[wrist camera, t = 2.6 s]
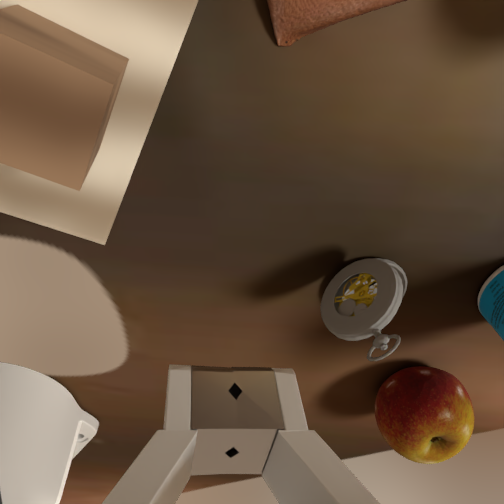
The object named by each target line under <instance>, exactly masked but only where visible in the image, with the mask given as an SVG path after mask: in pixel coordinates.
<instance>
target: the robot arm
mask: <svg viewBox="0 0 504 504" xmlns="http://www.w3.org/2000/svg"><path fill="white" fill-rule="evenodd" d="M98 426H99V422H98V421H97V419H95V418H94V417H93V416H91V415H90V414H88V413H87V412H85V411H83V410H82V409H81V408H80V407H79V406H78V404H77V403H76V401H75V399H74V398H73V396H72V395H71V394H70V392H69V391H68V390H67V389H66V388H65V387H63V386H62V385H61V384H60V383H58V382H57V381H55V380H54V379H52V378H50V377H48V376H46V375H44V374H42V373H40V372H37V371H35V370H32V369H29V368H26V367H22V366H19V365H14V364H9V363H3V362H0V504H59V502H60V500H61V496H62V493H63V489H64V486H65V482H66V478H67V475H68V471H69V468H70V464H71V460H72V459H73V458H74V457H75V456H76V455H77V454H78V453H79V452H80V450H81V449H82V448H83V447H84V446H85V445H86V444H87V443H88V442H89V441H90V440H91V439H92V438H93V437H94V436H95V434H96V433H97V429H98ZM207 474H262V477H263V479H264V480H265V482H266V483H267V485H268V487H269V488H270V490H271V491H272V493H273V494H274V496H275V497H276V499H277V501H278V502H279V504H380V503H379V502H378V501H377V500H376V499H375V498H374V497H373V495H372V494H371V493H370V492H369V491H368V490H367V489H366V487H365V486H364V485H363V484H362V483H361V482H360V481H359V480H358V479H357V477H355V475H354V474H353V473H352V472H351V471H350V470H349V469H348V467H347V466H346V465H345V464H344V463H343V462H342V461H341V460H340V459H339V457H338V456H337V455H336V454H335V453H334V452H333V451H332V450H331V448H330V447H329V446H328V445H327V444H326V443H325V442H324V441H323V440H322V438H321V437H320V436H319V435H318V434H317V433H316V432H315V431H314V430H308V427H307V423H306V418H305V414H304V410H303V405H302V401H301V397H300V393H299V388H298V384H297V380H296V376H295V372H294V371H293V369H287V368H265V367H232V368H227V367H209V366H191V365H169V371H168V382H167V393H166V404H165V415H164V428H163V430H157V431H156V433H155V434H154V435H153V437H152V438H151V439H150V441H149V442H148V443H147V445H146V446H145V447H144V449H143V450H142V451H141V453H140V454H139V455H138V457H137V458H136V459H135V461H134V462H133V463H132V465H131V466H130V467H129V468H128V470H127V471H126V472H125V474H124V475H123V476H122V478H121V479H120V480H119V482H118V483H117V484H116V486H115V487H114V488H113V490H112V491H111V492H110V494H109V495H108V496H107V498H106V499H105V500H104V502H103V503H102V504H175V503H176V501H177V500H178V498H179V496H180V494H181V493H182V491H183V489H184V487H185V485H186V484H187V482H188V480H189V478H190V475H207Z"/></svg>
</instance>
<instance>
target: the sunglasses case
mask: <svg viewBox="0 0 504 504" xmlns="http://www.w3.org/2000/svg"><path fill="white" fill-rule="evenodd" d="M402 1H407V0H267V3H268V7H269V10H270V16H271V20H272V26H273V32H274V36H275V39H276V42H277V45H278V46H283V47H284V46H290V45H292V44H293V43H294V42H295V41H298V40H299V39H300V38H301V37H303V36H306V35H308V34H311V33H314V32H316V31H318V30H321V29H323V28H326V27H328V26H330V25H334V24H336V23H338V22H341V21H343V20H346V19H349V18H353V17H355V16H359V15H363V14H365V13H368V12H371V11H373V10H377V9H380V8H383V7H387V6H389V5H394V4H396V3H400V2H402Z"/></svg>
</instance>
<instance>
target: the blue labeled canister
mask: <svg viewBox="0 0 504 504" xmlns="http://www.w3.org/2000/svg"><path fill="white" fill-rule="evenodd" d="M478 308H479V311H480V313H481V314H482V316H483V317H484V318H485V319H486V320H487V322H488V323H489V324H491V325H492V327H493V328H494V329H495V331H496V332H497V333H498V334H499V336H500V337H501V338H502V339H503V341H504V265H503V266H501V267H500V268H498V269H497V270H496V271H495V272H494V273H493V274H491V275H490V277H489V278H488V279H487V280H486V281H485V283H484V284H483V286H482V287H481V289H480V292H479V295H478Z"/></svg>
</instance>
